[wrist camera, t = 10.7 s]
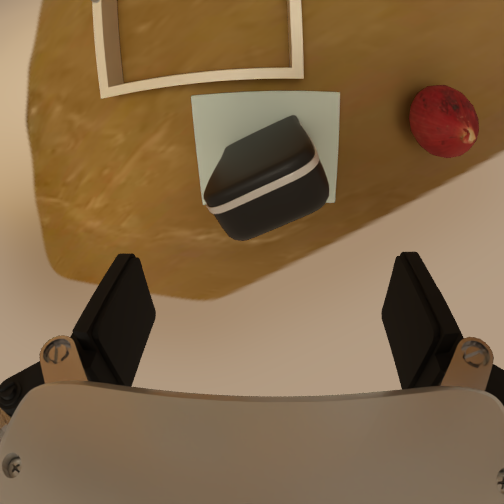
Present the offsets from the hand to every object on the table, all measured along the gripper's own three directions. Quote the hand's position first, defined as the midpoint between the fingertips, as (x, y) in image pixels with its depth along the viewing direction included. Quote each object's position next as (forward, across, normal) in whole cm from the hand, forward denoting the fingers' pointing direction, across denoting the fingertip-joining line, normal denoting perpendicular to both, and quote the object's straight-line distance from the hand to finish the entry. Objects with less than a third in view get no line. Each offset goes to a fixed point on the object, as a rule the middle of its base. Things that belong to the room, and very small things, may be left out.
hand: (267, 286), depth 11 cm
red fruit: (+18, -14, -4) cm, 23 cm away
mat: (+18, 0, 0) cm, 18 cm away
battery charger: (+18, 0, 0) cm, 18 cm away
